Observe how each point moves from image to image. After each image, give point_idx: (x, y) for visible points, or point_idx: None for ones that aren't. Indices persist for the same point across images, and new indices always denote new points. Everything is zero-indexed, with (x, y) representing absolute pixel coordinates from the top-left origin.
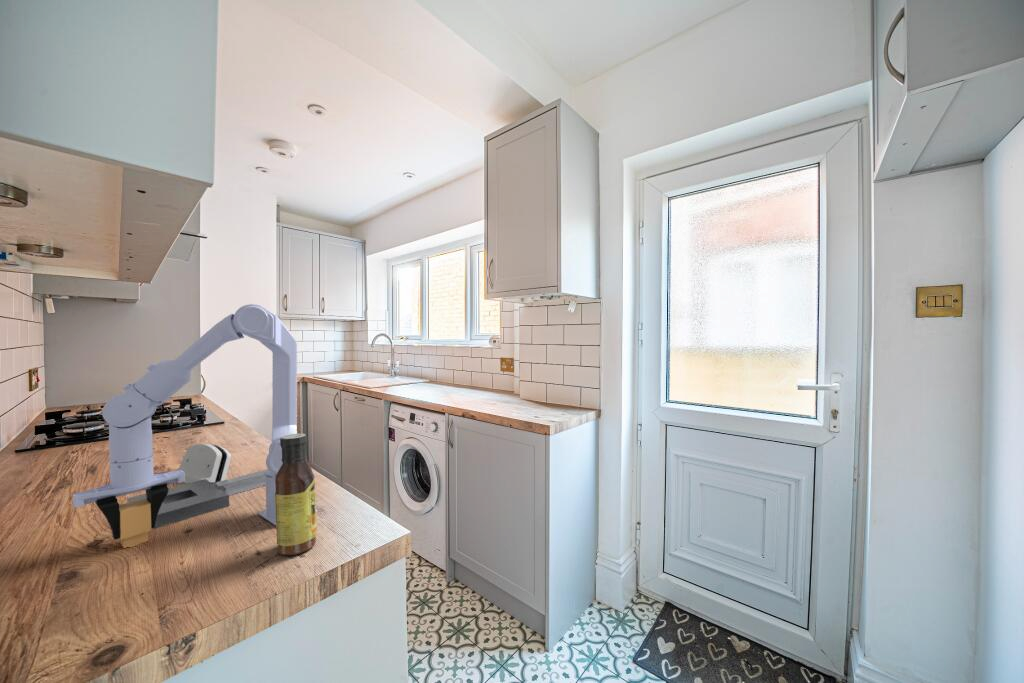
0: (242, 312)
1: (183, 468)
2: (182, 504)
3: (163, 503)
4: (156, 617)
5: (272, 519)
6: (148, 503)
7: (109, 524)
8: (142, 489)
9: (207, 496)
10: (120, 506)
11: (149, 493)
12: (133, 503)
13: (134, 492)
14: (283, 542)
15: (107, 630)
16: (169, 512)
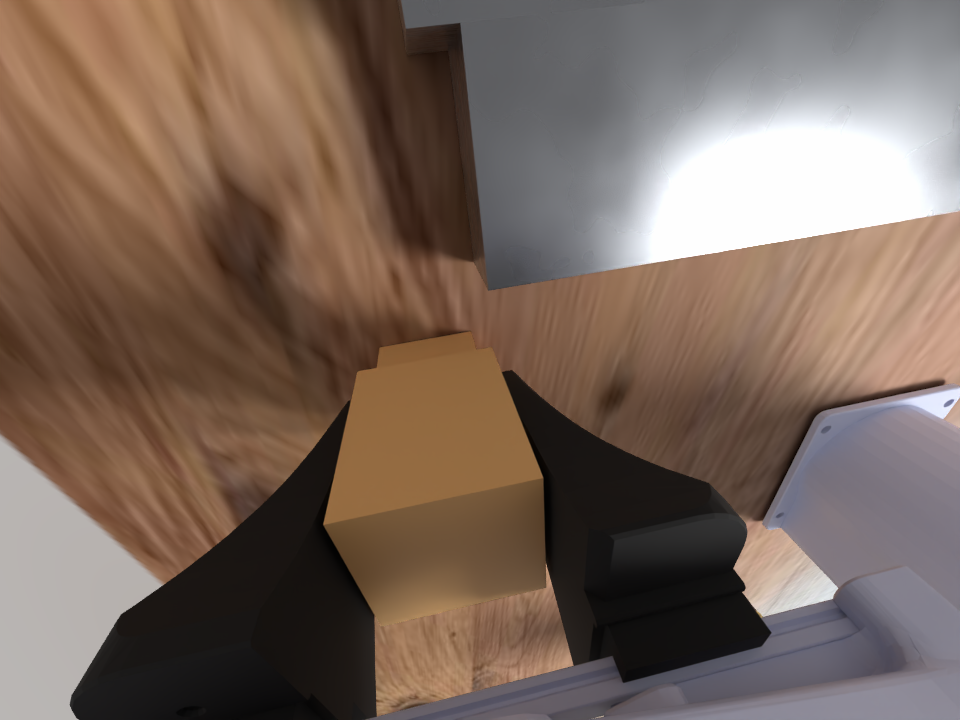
0: None
1: None
2: (735, 168)
3: None
4: (468, 679)
5: (788, 497)
6: (537, 583)
7: (315, 446)
8: (548, 701)
9: (914, 109)
10: (366, 553)
11: (577, 624)
12: (453, 541)
13: (478, 705)
14: None
15: (407, 684)
16: (624, 262)
